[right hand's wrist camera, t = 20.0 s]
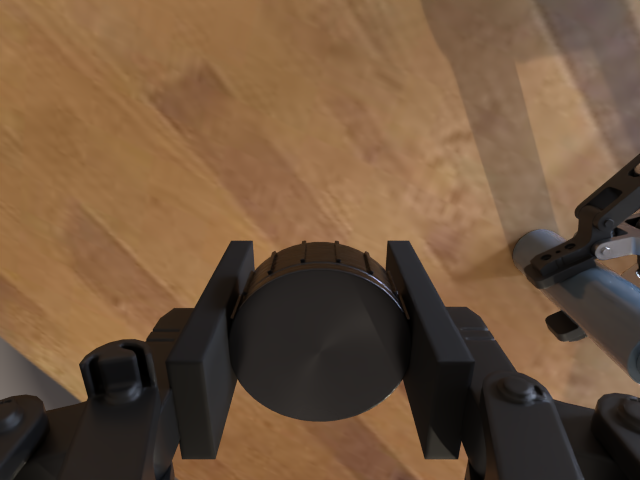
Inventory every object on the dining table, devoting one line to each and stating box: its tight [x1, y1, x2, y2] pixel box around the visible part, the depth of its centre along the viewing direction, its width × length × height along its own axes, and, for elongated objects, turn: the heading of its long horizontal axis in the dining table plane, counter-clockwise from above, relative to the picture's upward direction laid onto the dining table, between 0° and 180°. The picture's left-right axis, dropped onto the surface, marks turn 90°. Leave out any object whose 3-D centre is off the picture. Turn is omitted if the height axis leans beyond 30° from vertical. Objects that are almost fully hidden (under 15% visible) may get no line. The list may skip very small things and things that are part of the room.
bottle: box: [513, 229, 640, 384], centre depth 26 cm, size 4×4×15 cm
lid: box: [228, 241, 412, 421], centre depth 11 cm, size 5×5×2 cm
